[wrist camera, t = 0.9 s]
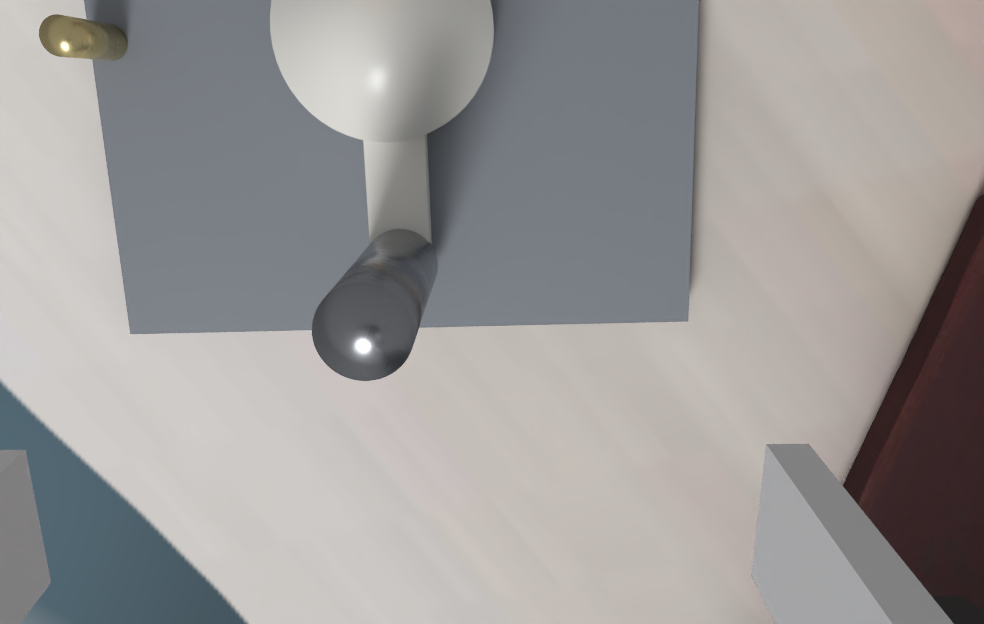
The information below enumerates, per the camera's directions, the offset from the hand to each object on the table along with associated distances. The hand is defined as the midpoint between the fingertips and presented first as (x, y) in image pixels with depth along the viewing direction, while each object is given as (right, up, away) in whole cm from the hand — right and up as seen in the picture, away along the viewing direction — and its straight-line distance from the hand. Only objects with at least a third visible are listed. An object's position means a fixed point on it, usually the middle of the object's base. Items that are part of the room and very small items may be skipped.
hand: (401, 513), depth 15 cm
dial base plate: (-2, +15, +20) cm, 25 cm away
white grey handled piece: (-2, +15, +18) cm, 23 cm away
